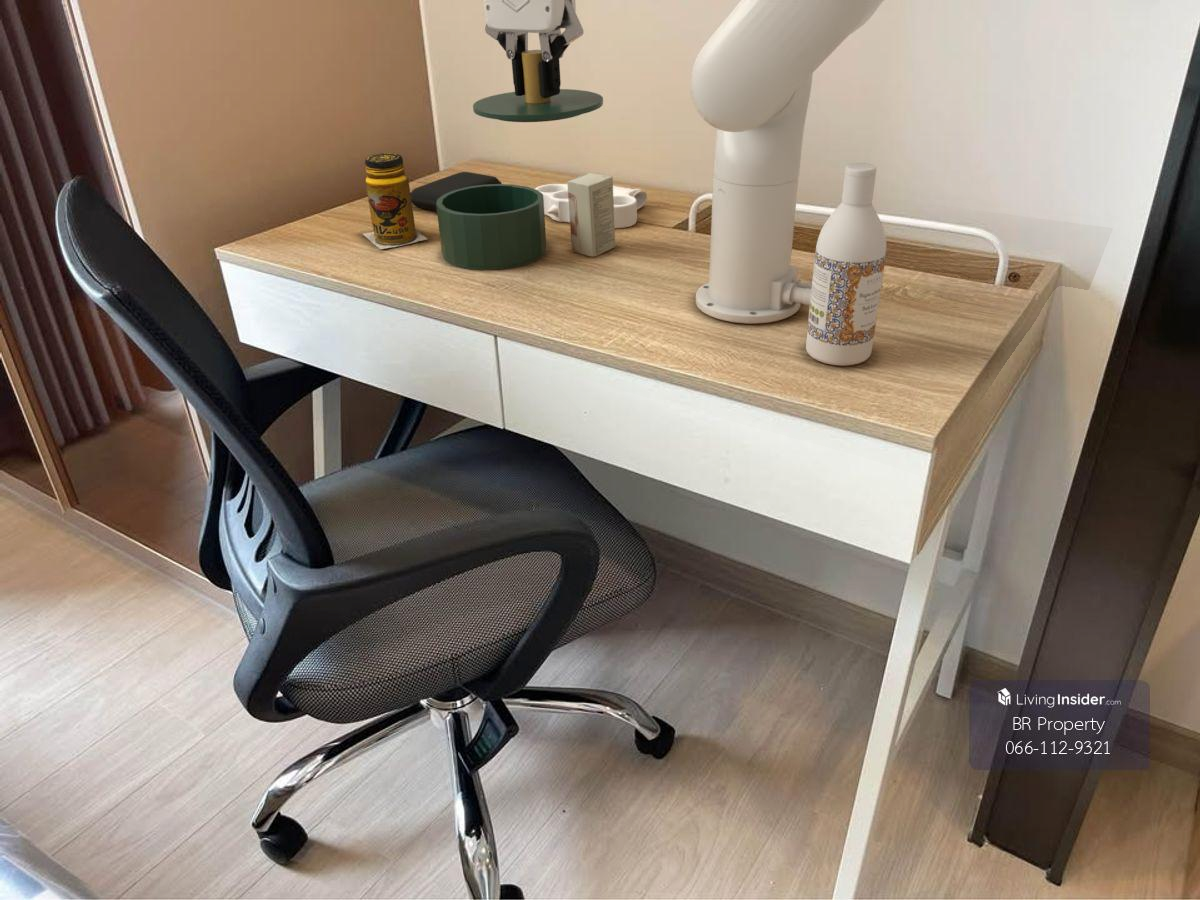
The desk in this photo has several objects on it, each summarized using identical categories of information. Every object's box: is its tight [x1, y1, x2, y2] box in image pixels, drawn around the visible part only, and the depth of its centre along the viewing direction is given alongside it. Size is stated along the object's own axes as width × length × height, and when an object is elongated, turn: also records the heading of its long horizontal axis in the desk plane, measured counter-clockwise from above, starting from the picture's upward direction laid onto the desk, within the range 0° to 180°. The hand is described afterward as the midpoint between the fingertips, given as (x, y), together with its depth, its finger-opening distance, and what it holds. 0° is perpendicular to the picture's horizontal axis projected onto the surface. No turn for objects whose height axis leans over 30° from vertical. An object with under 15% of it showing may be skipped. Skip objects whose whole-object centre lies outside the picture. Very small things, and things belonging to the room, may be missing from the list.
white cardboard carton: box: [566, 172, 616, 258], centre depth 126 cm, size 5×4×10 cm
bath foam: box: [805, 162, 887, 367], centre depth 93 cm, size 7×7×20 cm
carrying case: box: [410, 171, 503, 212], centre depth 150 cm, size 11×3×15 cm
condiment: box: [361, 152, 428, 250], centre depth 132 cm, size 7×8×12 cm
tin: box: [436, 183, 547, 271], centre depth 127 cm, size 15×15×8 cm
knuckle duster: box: [534, 183, 648, 229], centre depth 142 cm, size 3×18×15 cm
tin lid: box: [472, 49, 604, 123], centre depth 108 cm, size 16×16×7 cm
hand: (537, 93), depth 109 cm, fingers closed on tin lid, 3 cm apart
